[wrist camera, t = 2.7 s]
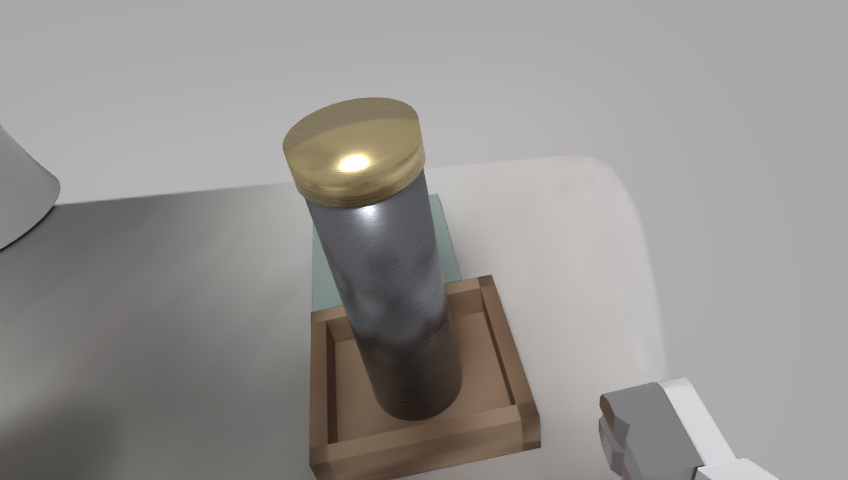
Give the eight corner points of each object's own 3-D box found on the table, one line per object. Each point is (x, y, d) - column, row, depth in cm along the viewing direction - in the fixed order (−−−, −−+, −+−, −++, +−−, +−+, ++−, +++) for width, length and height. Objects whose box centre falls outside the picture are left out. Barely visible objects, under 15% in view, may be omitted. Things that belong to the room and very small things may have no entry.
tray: (324, 493, 26) (309, 465, 25) (323, 341, 33) (311, 312, 32) (540, 447, 27) (539, 416, 25) (494, 305, 33) (491, 274, 32)
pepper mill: (374, 432, 28) (278, 182, 18) (368, 354, 31) (285, 113, 22) (474, 411, 28) (427, 151, 19) (455, 336, 31) (410, 87, 22)
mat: (314, 318, 35) (312, 311, 35) (315, 226, 42) (313, 219, 41) (462, 287, 35) (461, 280, 35) (438, 200, 42) (437, 193, 42)
